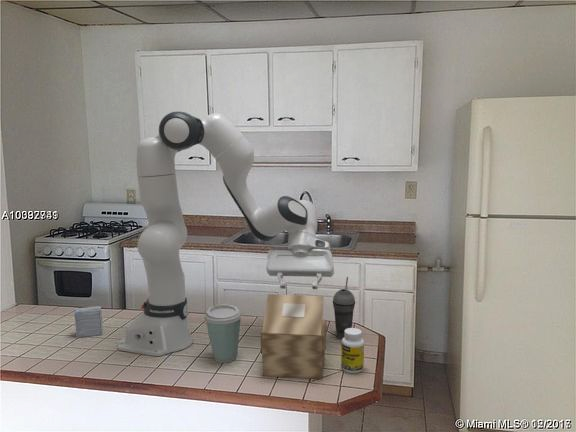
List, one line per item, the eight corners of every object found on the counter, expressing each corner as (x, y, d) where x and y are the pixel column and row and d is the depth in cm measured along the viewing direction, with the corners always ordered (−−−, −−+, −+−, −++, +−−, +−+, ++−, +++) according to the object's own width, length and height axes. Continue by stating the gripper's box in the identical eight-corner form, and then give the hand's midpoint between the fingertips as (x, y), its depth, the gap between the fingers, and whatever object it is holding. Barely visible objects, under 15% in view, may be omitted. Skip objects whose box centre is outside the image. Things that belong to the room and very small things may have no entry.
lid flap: (262, 333, 129) (262, 332, 128) (268, 295, 136) (267, 293, 136) (321, 336, 126) (320, 335, 126) (323, 297, 134) (323, 296, 134)
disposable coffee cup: (250, 358, 141) (249, 309, 139) (219, 370, 134) (217, 318, 132) (229, 347, 149) (228, 300, 146) (199, 357, 142) (197, 309, 139)
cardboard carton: (260, 375, 131) (259, 333, 129) (268, 356, 143) (267, 317, 141) (323, 379, 129) (323, 336, 127) (326, 359, 140) (326, 319, 138)
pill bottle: (338, 371, 133) (338, 333, 131) (344, 362, 138) (344, 325, 137) (361, 375, 130) (361, 336, 129) (365, 365, 136) (366, 328, 134)
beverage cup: (340, 330, 161) (340, 271, 158) (359, 335, 157) (360, 275, 154) (327, 337, 156) (328, 276, 153) (347, 342, 151) (347, 281, 148)
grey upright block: (103, 330, 163) (101, 305, 162) (102, 335, 159) (100, 309, 158) (77, 333, 161) (75, 308, 159) (76, 338, 157) (74, 312, 155)
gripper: (267, 242, 148) (262, 282, 140) (334, 242, 146) (332, 283, 138) (269, 252, 153) (265, 292, 145) (334, 253, 151) (333, 293, 143)
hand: (298, 288), depth 141 cm, fingers open, 8 cm apart
